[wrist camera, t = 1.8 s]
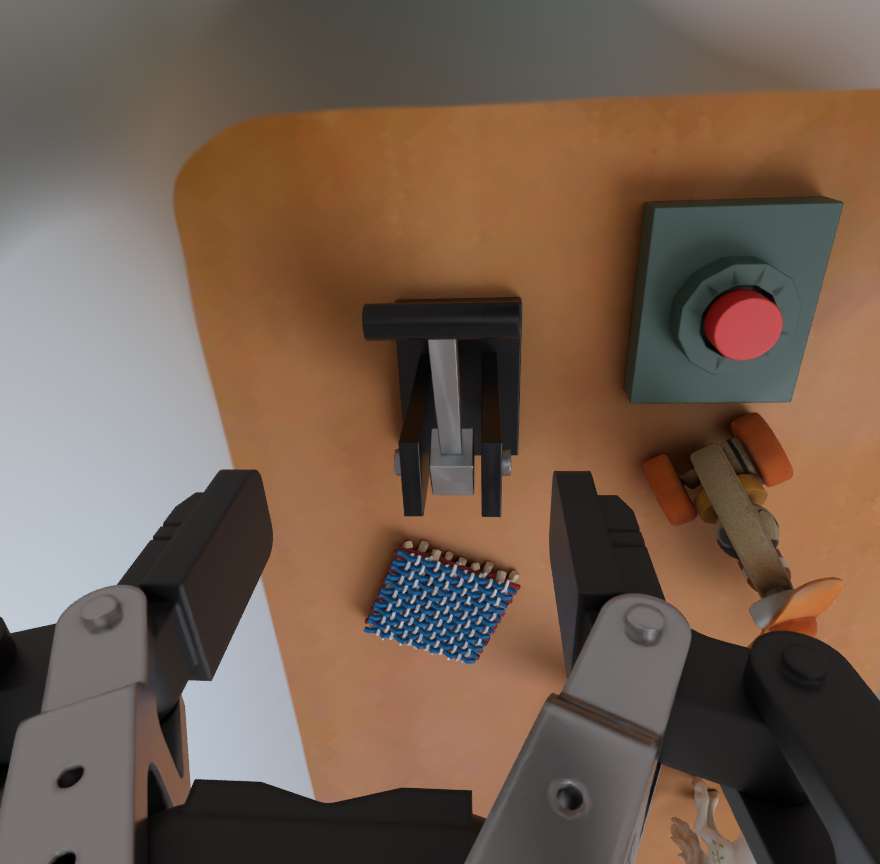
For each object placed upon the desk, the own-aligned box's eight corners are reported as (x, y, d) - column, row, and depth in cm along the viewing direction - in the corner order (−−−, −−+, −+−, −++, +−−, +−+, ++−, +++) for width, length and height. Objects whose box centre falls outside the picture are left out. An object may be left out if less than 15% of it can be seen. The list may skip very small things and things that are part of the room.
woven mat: (477, 654, 54) (477, 672, 52) (363, 619, 53) (359, 637, 51) (525, 571, 49) (526, 589, 48) (401, 530, 48) (398, 547, 46)
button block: (645, 201, 35) (662, 212, 32) (824, 196, 35) (863, 207, 31) (623, 389, 41) (636, 416, 38) (776, 388, 40) (804, 415, 37)
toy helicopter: (742, 385, 40) (852, 508, 28) (835, 590, 48) (952, 753, 36) (627, 440, 43) (683, 574, 31) (733, 626, 51) (811, 790, 39)
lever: (366, 287, 24) (358, 330, 23) (518, 284, 24) (520, 327, 22) (400, 458, 34) (397, 495, 32) (509, 458, 33) (510, 496, 32)
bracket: (395, 299, 39) (360, 380, 28) (521, 296, 39) (536, 378, 27) (406, 447, 44) (380, 565, 33) (517, 447, 44) (528, 567, 33)
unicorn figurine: (833, 711, 55) (927, 878, 43) (720, 823, 64) (773, 985, 52) (761, 691, 54) (838, 854, 43) (658, 807, 64) (697, 967, 52)
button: (709, 289, 34) (720, 298, 32) (776, 287, 34) (790, 297, 32) (699, 350, 36) (708, 361, 34) (762, 349, 35) (775, 360, 34)
